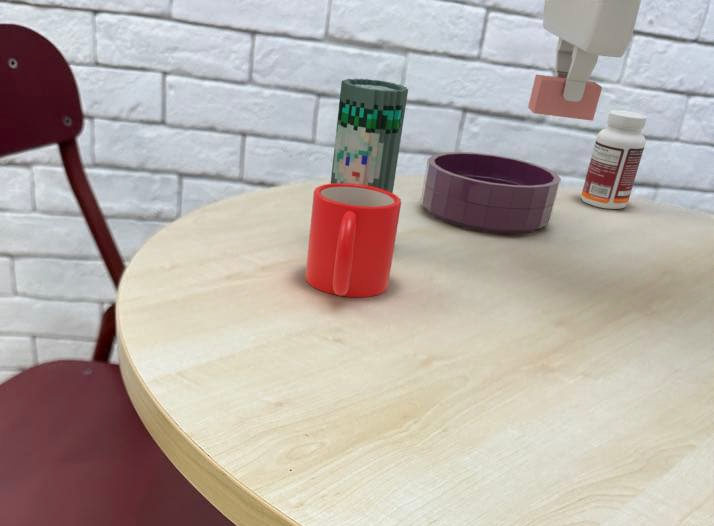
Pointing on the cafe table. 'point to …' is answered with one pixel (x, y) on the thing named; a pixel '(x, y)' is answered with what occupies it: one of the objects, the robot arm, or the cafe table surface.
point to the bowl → (489, 192)
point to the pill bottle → (615, 161)
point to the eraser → (562, 99)
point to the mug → (352, 239)
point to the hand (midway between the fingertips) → (565, 96)
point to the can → (368, 132)
